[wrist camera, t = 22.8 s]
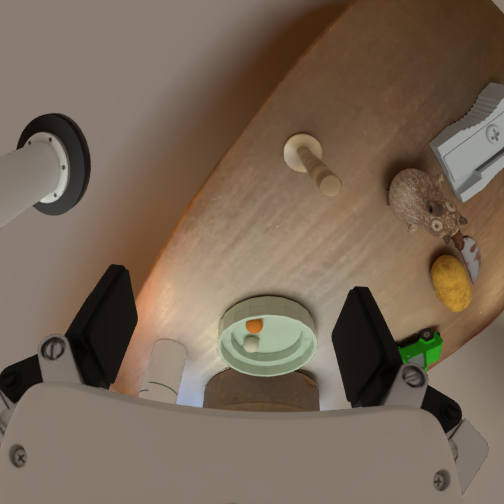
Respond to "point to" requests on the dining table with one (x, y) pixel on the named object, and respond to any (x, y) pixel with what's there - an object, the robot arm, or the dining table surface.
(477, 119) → the wedge sharpener
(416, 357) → the toy car
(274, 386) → the container
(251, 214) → the dining table surface
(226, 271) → the dining table surface
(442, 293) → the potato
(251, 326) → the orange ball
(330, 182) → the wooden peg stand
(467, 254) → the kitchen knife
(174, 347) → the cylindrical container
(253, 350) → the cream ball
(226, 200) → the dining table surface
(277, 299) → the bowl
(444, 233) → the figurine
